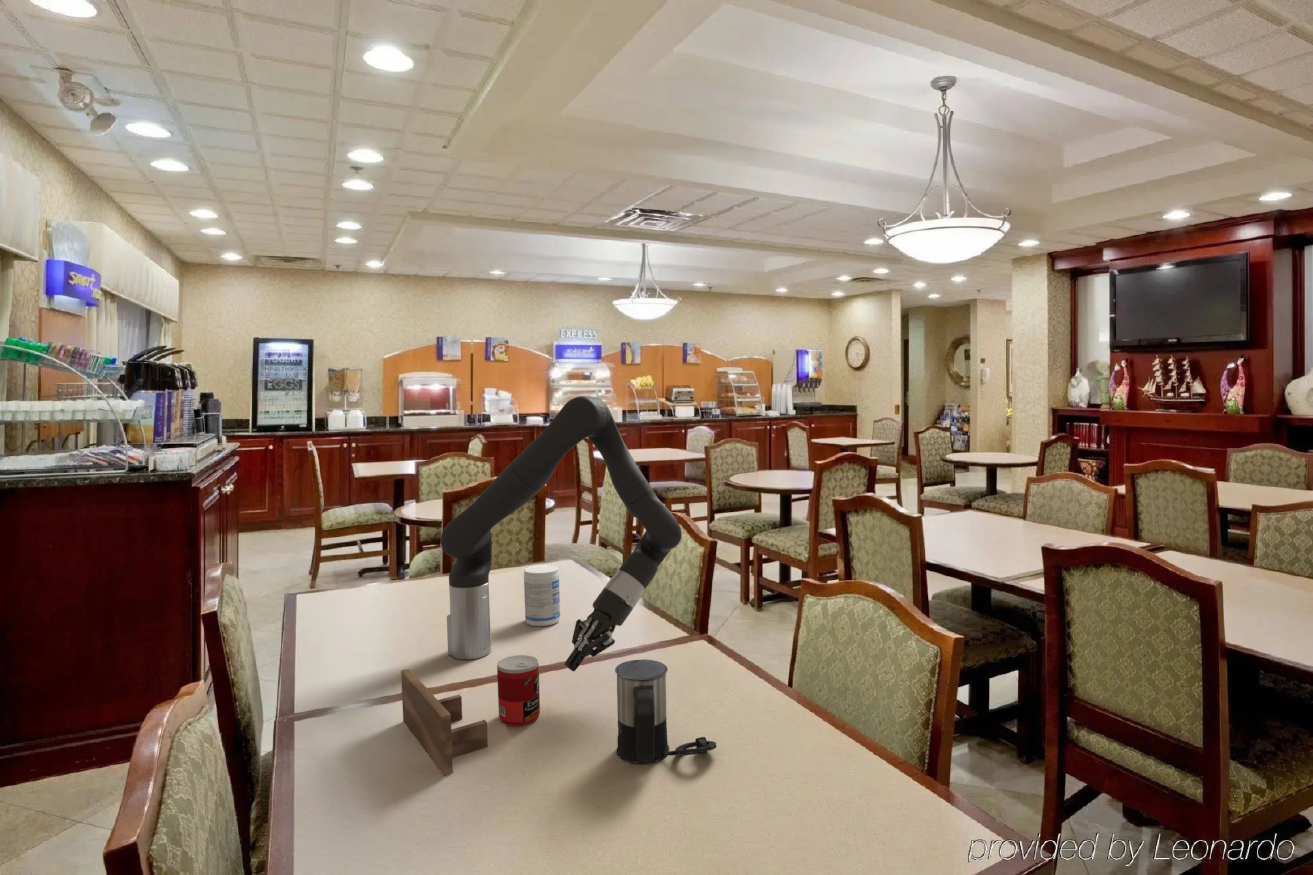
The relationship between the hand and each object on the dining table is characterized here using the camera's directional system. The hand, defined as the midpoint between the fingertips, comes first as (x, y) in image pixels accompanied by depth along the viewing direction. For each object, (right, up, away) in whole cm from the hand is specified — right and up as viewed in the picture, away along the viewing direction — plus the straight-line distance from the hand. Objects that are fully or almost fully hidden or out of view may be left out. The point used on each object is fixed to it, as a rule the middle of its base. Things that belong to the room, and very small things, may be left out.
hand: (568, 668), depth 143 cm
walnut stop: (-20, -8, -14) cm, 26 cm away
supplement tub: (-13, -4, +51) cm, 53 cm away
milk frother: (+19, -8, -20) cm, 29 cm away
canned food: (-9, -8, -6) cm, 13 cm away
